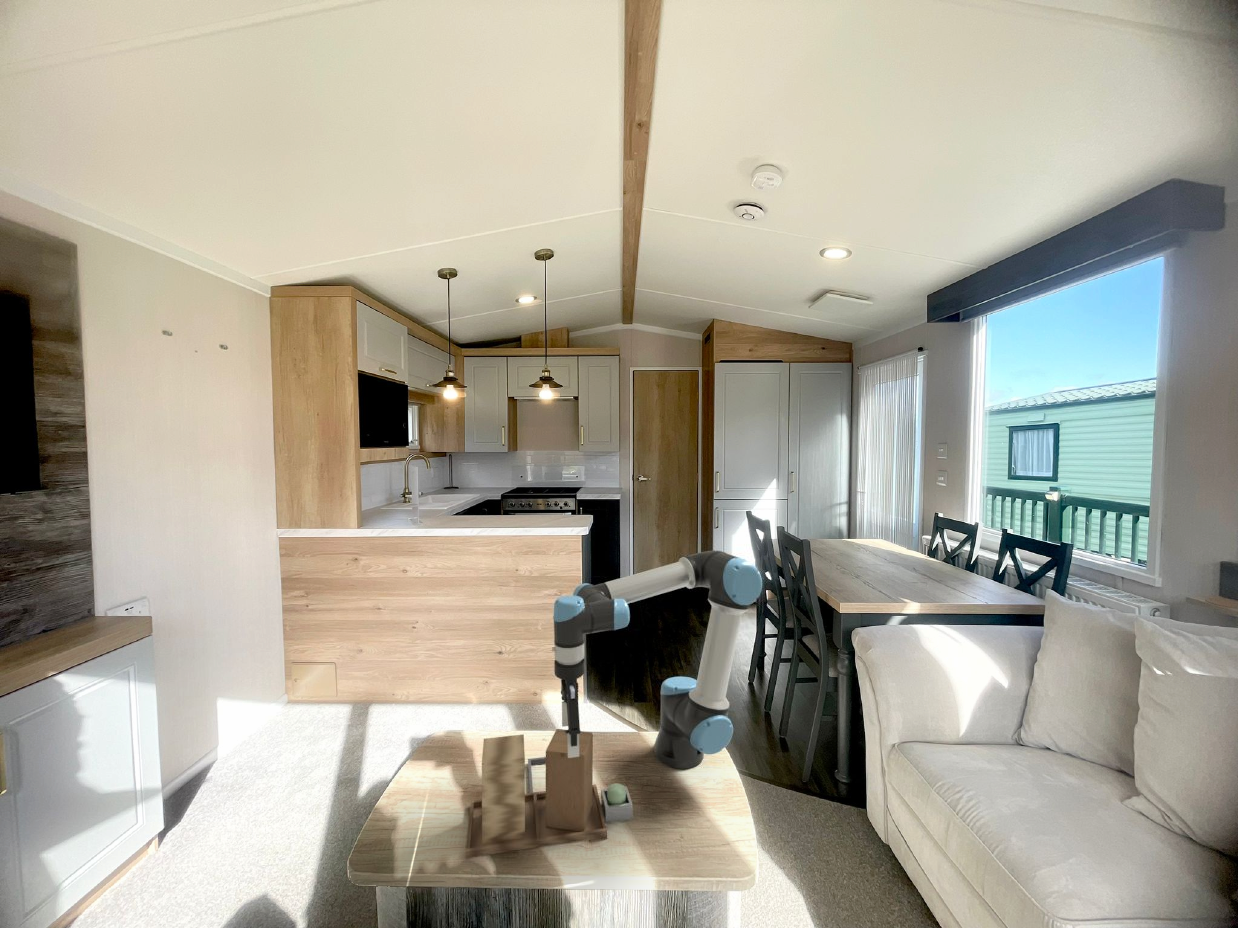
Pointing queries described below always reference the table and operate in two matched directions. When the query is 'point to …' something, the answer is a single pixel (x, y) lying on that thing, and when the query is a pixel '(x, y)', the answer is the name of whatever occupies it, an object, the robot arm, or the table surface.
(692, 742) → the robot arm
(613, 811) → the button housing
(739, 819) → the table surface
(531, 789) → the tote frame
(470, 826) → the divided wooden tray
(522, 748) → the seated billet
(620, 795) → the button
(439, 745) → the table surface
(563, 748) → the wooden block
